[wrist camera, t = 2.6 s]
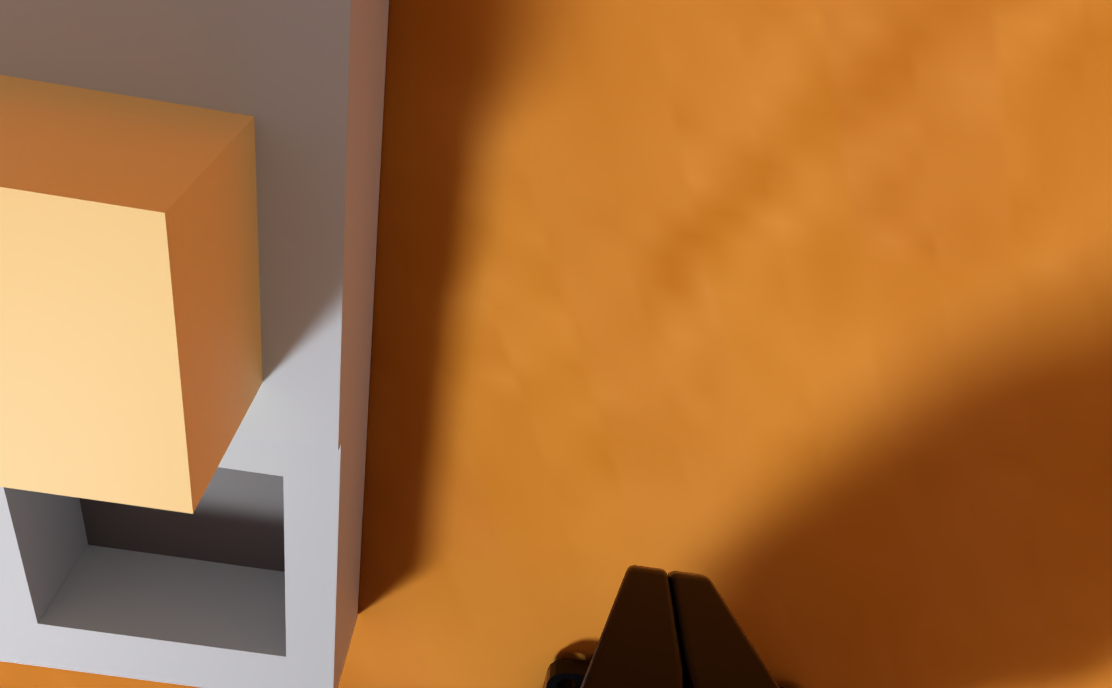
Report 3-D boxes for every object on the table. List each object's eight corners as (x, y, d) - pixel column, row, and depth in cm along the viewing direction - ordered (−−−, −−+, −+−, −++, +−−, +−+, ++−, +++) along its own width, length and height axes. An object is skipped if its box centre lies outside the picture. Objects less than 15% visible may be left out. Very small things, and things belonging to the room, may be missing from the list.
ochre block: (254, 116, 12) (163, 213, 10) (262, 382, 15) (193, 513, 12) (-89, 60, 12) (-271, 144, 9) (-22, 339, 14) (-151, 465, 12)
